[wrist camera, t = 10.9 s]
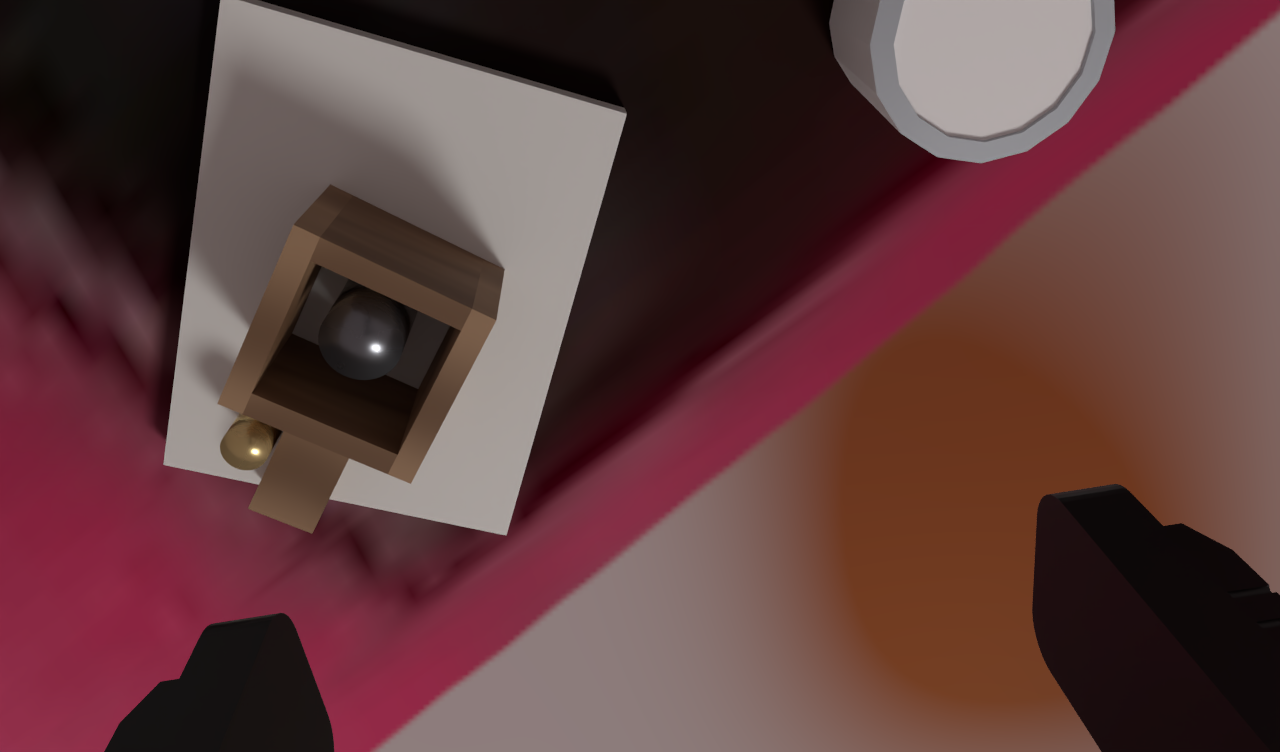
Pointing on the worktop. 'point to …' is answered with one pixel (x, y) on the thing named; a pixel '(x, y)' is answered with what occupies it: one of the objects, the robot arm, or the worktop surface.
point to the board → (409, 189)
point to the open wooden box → (338, 405)
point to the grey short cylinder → (973, 67)
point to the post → (364, 332)
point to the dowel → (248, 443)
